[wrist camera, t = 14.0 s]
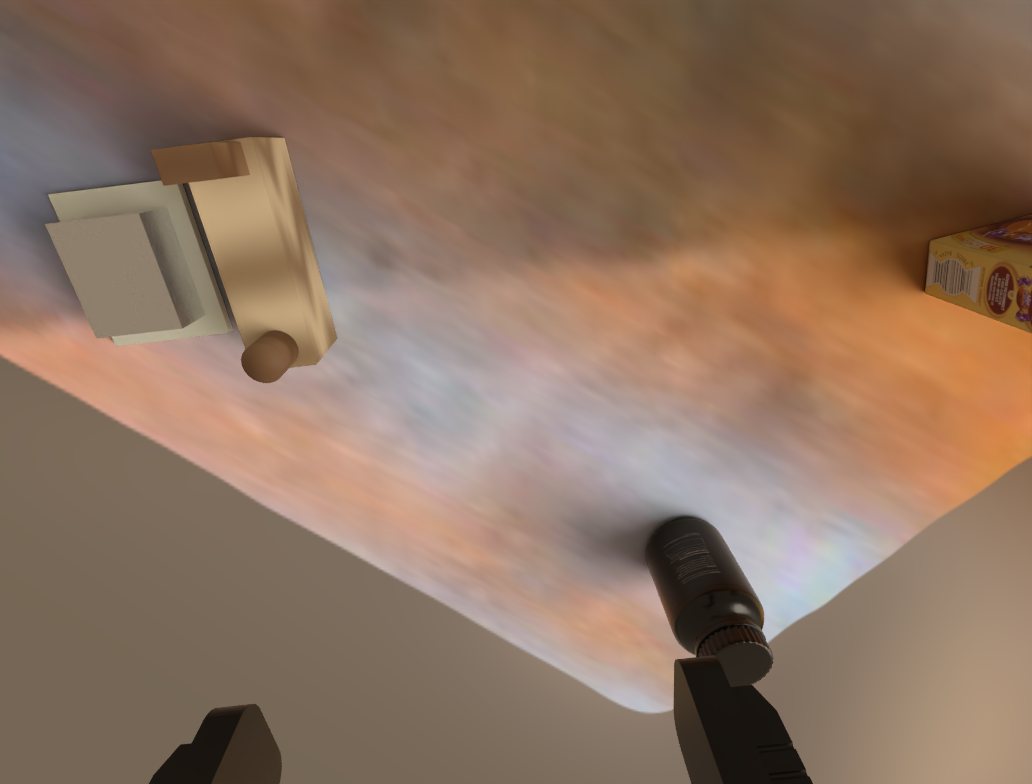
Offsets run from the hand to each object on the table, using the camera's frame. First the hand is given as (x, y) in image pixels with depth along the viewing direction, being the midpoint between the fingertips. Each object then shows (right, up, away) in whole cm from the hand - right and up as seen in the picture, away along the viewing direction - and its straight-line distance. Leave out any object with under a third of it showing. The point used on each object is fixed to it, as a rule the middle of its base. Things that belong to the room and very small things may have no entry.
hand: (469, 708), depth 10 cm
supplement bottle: (+16, -7, +37) cm, 41 cm away
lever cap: (-23, +14, +25) cm, 37 cm away
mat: (-23, +15, +26) cm, 38 cm away
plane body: (-15, +16, +25) cm, 33 cm away
